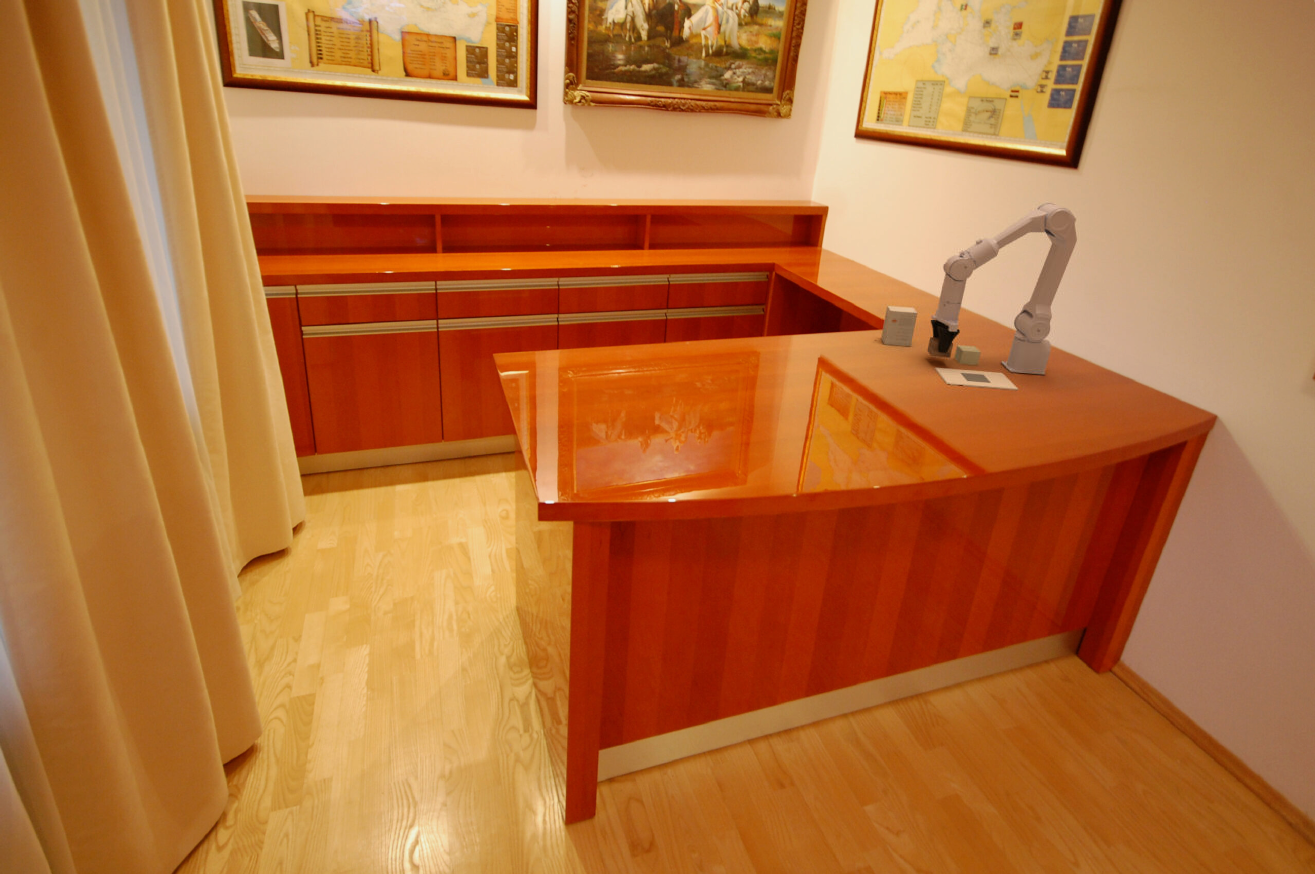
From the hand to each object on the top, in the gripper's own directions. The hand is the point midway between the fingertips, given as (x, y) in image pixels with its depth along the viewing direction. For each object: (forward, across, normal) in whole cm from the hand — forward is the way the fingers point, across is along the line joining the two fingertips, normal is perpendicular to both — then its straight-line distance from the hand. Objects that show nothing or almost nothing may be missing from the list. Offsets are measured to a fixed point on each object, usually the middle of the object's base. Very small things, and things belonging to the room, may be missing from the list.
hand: (939, 349), depth 207 cm
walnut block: (+2, 0, 0) cm, 2 cm away
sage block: (+4, -3, +9) cm, 10 cm away
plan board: (+4, +12, +7) cm, 14 cm away
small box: (+4, -16, -8) cm, 18 cm away
